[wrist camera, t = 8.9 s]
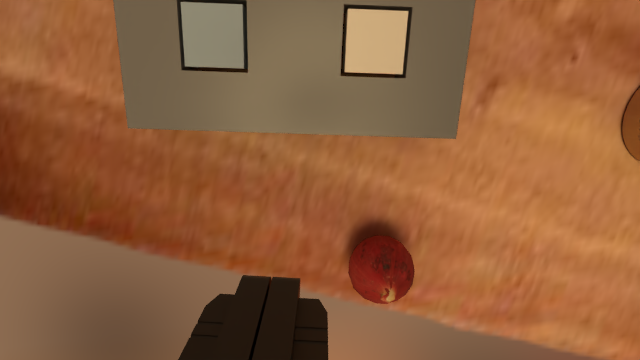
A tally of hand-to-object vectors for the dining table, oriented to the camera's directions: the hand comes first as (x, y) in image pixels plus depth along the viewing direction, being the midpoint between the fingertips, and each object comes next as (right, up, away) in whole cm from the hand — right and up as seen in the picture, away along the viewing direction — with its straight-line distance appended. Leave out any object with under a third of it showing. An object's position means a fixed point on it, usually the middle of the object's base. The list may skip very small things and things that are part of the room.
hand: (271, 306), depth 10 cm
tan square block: (+5, +14, +19) cm, 25 cm away
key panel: (-1, +15, +21) cm, 26 cm away
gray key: (-7, +15, +19) cm, 25 cm away
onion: (+7, -4, +27) cm, 28 cm away
